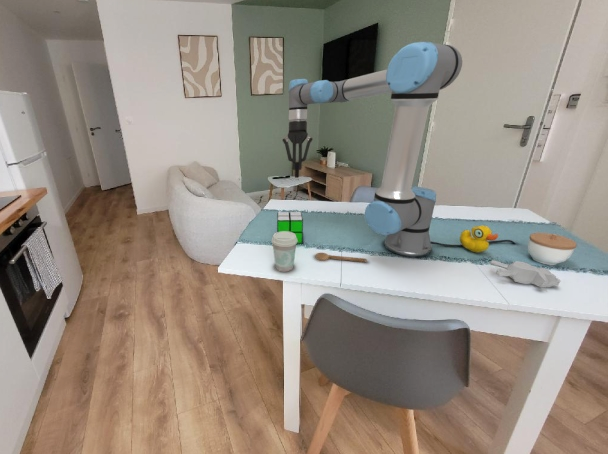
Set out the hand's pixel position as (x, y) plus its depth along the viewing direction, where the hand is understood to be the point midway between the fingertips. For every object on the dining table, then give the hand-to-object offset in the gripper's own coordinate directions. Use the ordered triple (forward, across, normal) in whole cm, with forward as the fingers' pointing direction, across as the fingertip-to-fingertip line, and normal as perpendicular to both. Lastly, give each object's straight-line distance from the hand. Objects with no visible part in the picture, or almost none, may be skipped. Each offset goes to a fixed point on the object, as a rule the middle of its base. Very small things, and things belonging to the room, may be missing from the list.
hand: (296, 177), depth 129 cm
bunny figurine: (+25, -71, +35) cm, 83 cm away
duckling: (+24, -65, +17) cm, 71 cm away
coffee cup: (+24, -1, +41) cm, 48 cm away
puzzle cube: (+23, +1, +18) cm, 29 cm away
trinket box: (+24, -84, +20) cm, 90 cm away
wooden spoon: (+24, -19, +32) cm, 44 cm away
